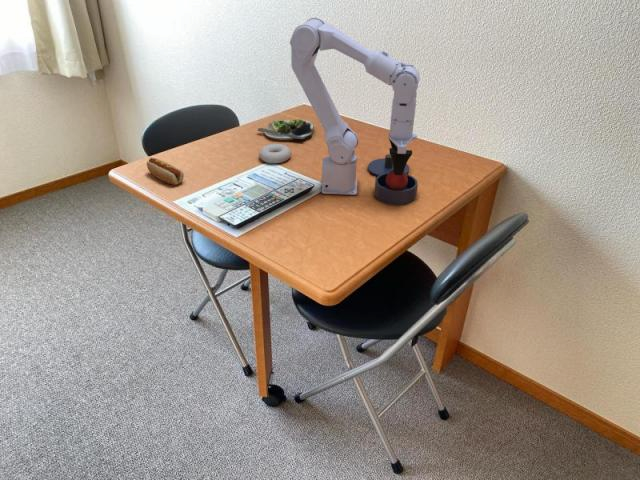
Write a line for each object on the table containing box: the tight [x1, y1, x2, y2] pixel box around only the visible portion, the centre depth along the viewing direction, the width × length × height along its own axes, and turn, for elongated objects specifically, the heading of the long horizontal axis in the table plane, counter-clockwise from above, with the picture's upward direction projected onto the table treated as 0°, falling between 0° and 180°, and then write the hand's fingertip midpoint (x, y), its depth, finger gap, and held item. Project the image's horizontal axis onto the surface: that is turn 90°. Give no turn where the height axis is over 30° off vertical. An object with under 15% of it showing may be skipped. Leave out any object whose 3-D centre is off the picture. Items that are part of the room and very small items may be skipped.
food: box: [146, 157, 185, 186], centre depth 137 cm, size 14×6×5 cm, turn 49°
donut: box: [258, 143, 292, 164], centre depth 149 cm, size 10×4×10 cm
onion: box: [386, 170, 408, 191], centre depth 128 cm, size 6×6×8 cm
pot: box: [374, 173, 419, 206], centre depth 129 cm, size 11×11×4 cm
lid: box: [367, 153, 410, 177], centre depth 142 cm, size 12×12×5 cm
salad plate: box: [256, 119, 315, 142], centre depth 166 cm, size 19×18×5 cm
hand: (397, 168), depth 126 cm, fingers open, 7 cm apart
